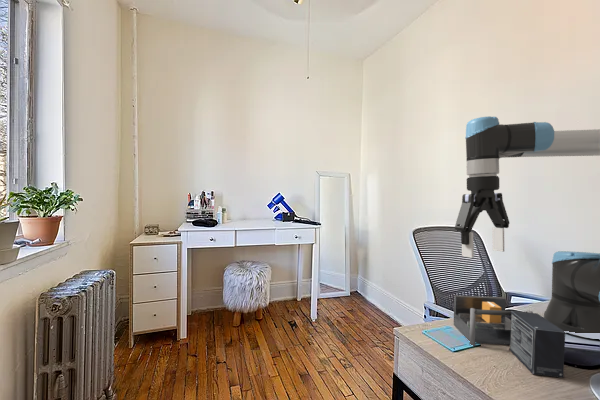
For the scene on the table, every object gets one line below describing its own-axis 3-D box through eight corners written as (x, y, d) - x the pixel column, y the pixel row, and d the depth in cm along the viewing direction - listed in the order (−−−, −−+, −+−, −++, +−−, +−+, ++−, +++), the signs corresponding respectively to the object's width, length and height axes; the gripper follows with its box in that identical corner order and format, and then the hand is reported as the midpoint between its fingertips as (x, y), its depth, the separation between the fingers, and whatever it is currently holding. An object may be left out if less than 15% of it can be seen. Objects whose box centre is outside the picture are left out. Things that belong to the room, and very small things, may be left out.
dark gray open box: (502, 327, 87) (503, 297, 86) (525, 345, 76) (526, 311, 76) (452, 324, 88) (453, 295, 88) (469, 342, 78) (469, 309, 77)
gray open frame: (529, 347, 76) (530, 310, 75) (532, 349, 74) (533, 312, 74) (468, 343, 77) (469, 308, 77) (470, 346, 76) (471, 309, 76)
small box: (566, 379, 63) (568, 332, 62) (532, 375, 64) (533, 329, 64) (537, 352, 73) (538, 312, 73) (508, 349, 74) (509, 309, 74)
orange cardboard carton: (492, 318, 83) (493, 301, 83) (501, 324, 79) (501, 306, 79) (481, 318, 83) (482, 300, 83) (489, 324, 79) (489, 306, 79)
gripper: (495, 176, 87) (496, 246, 87) (438, 176, 76) (440, 256, 76) (523, 175, 80) (524, 250, 81) (466, 174, 69) (467, 262, 70)
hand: (483, 253), depth 78 cm, fingers open, 13 cm apart
